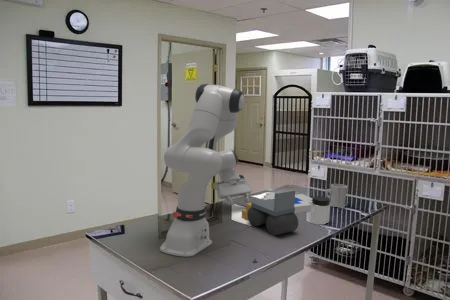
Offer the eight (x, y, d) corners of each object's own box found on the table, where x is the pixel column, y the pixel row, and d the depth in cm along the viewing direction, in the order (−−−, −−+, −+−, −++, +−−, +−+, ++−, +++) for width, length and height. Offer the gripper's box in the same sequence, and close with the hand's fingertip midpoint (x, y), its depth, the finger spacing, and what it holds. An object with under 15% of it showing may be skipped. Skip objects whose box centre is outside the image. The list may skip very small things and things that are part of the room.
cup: (334, 209, 195) (336, 188, 193) (323, 204, 203) (325, 184, 202) (349, 207, 199) (351, 186, 198) (338, 203, 208) (339, 183, 206)
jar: (307, 219, 177) (308, 196, 175) (321, 218, 179) (323, 195, 177) (316, 225, 168) (318, 201, 166) (331, 224, 171) (333, 200, 169)
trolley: (298, 233, 158) (301, 191, 155) (279, 238, 151) (281, 195, 148) (265, 218, 175) (267, 181, 173) (246, 223, 168) (248, 184, 166)
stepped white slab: (324, 203, 193) (281, 208, 181) (323, 210, 194) (280, 215, 182) (293, 190, 218) (254, 194, 206) (293, 196, 219) (253, 200, 207)
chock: (241, 217, 176) (242, 202, 175) (250, 215, 179) (250, 200, 178) (250, 221, 171) (251, 205, 169) (259, 220, 174) (260, 204, 173)
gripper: (216, 179, 179) (226, 203, 173) (247, 175, 191) (258, 197, 185) (210, 186, 184) (221, 209, 177) (241, 181, 196) (252, 203, 189)
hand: (240, 203), depth 181 cm, fingers open, 8 cm apart
